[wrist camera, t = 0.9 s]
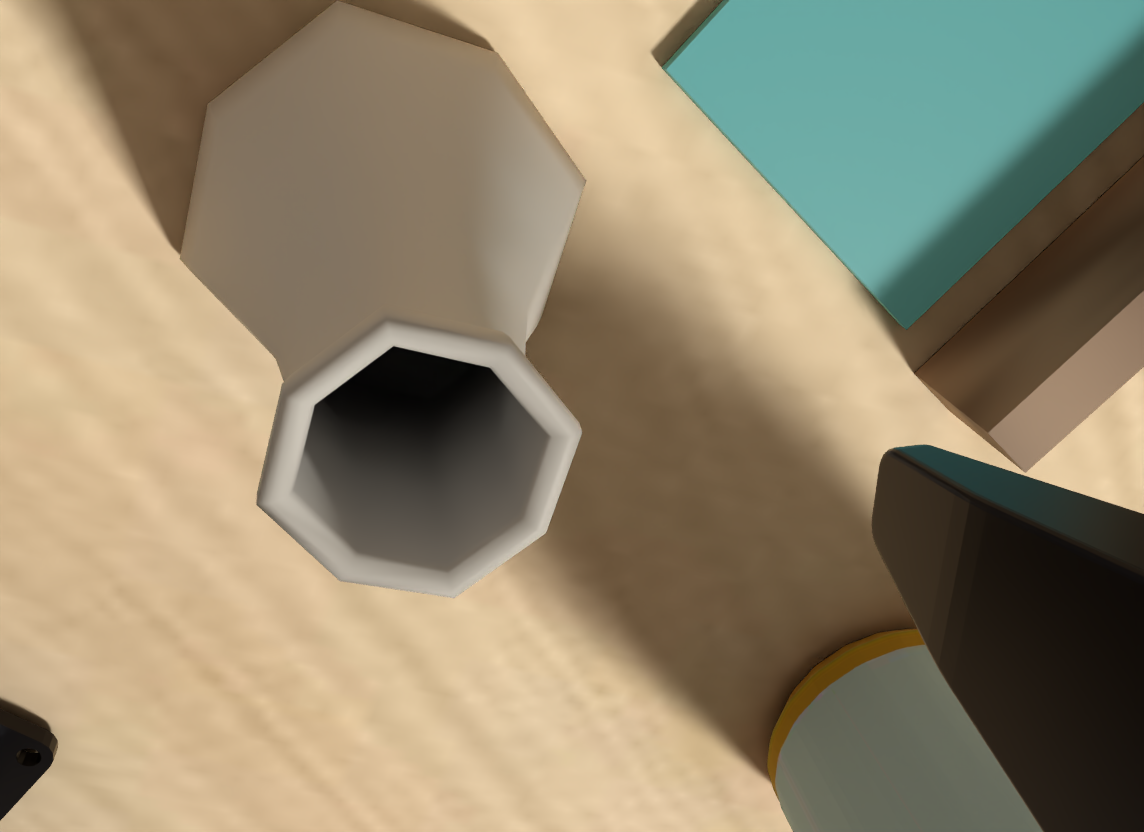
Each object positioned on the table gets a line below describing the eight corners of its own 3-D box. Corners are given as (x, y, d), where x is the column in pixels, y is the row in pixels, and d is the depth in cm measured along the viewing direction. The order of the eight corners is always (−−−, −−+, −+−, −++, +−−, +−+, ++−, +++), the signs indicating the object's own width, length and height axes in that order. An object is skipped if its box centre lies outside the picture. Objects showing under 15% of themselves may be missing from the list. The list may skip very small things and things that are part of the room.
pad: (900, 325, 22) (906, 329, 22) (661, 67, 19) (666, 70, 19) (1189, 46, 21) (1200, 48, 20) (988, -292, 17) (998, -294, 17)
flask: (111, 267, 18) (-101, 585, 10) (318, -83, 17) (288, -83, 8) (440, 446, 21) (506, 814, 13) (646, 165, 20) (890, 366, 11)
